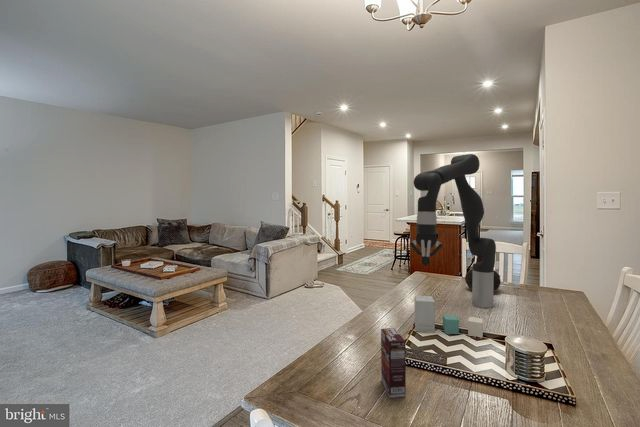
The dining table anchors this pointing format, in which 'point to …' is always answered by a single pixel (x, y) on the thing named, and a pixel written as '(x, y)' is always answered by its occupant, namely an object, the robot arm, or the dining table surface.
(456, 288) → the dining table surface
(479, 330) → the cream block
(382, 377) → the supplement box
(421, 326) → the supplement box
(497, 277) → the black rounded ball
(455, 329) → the teal block
